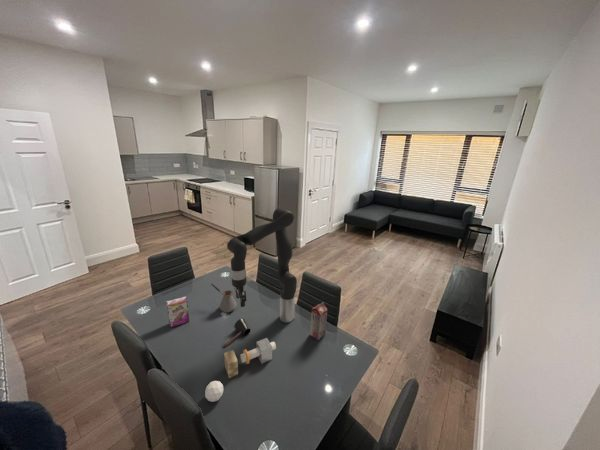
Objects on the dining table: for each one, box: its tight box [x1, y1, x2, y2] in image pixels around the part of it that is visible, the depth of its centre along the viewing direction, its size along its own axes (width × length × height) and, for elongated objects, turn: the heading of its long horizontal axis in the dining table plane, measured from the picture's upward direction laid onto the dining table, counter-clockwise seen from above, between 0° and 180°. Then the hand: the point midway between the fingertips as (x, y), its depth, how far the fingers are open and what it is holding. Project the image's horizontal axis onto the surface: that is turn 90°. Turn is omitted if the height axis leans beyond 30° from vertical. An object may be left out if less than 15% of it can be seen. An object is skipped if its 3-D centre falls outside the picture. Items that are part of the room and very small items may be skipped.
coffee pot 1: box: [210, 283, 238, 313], centre depth 167 cm, size 21×12×15 cm, turn 61°
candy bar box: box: [165, 296, 190, 328], centre depth 149 cm, size 11×5×16 cm, turn 123°
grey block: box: [256, 337, 273, 365], centre depth 129 cm, size 6×7×8 cm
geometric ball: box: [204, 380, 224, 403], centre depth 107 cm, size 8×8×8 cm
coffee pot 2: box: [223, 317, 252, 347], centre depth 143 cm, size 8×18×8 cm
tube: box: [239, 341, 277, 365], centre depth 127 cm, size 18×7×7 cm, turn 121°
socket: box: [223, 349, 239, 379], centre depth 120 cm, size 4×8×9 cm, turn 31°
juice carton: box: [309, 301, 328, 341], centre depth 144 cm, size 7×7×22 cm
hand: (240, 302), depth 130 cm, fingers open, 8 cm apart
